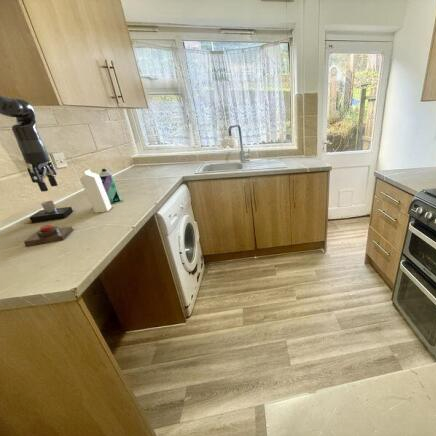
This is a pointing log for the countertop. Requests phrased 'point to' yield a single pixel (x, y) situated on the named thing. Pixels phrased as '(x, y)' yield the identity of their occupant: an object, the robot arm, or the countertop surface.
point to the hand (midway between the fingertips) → (49, 188)
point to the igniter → (48, 236)
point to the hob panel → (51, 215)
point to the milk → (95, 192)
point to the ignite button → (46, 228)
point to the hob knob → (49, 207)
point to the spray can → (110, 186)
